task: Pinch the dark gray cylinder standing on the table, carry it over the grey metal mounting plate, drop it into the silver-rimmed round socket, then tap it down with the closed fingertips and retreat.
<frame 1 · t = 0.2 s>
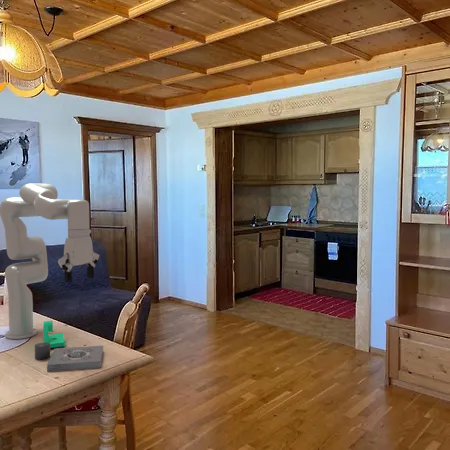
hand: (79, 279, 163), 30 cm above the table, tool pointing down, fingers open, 9 cm apart
mount plate: (76, 361, 164), on the table
camera mount: (54, 345, 182), on the table
dark gray cylinder: (42, 357, 168), on the table
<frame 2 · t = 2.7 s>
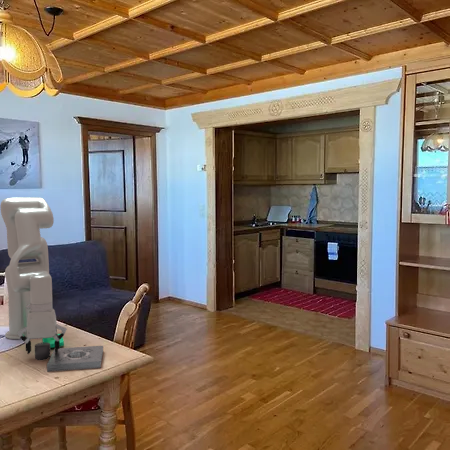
hand: (43, 351, 167), 2 cm above the table, tool pointing down, fingers open, 9 cm apart
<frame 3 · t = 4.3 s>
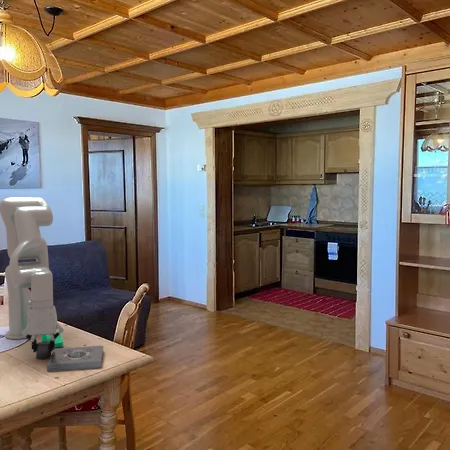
hand: (43, 350, 167), 3 cm above the table, tool pointing down, fingers closed on dark gray cylinder, 5 cm apart
dark gray cylinder: (43, 356, 168), on the table, touching gripper
everything else where it was.
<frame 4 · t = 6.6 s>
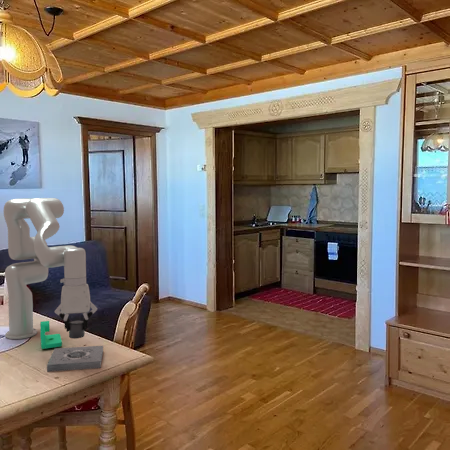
hand: (76, 329, 163), 12 cm above the table, tool pointing down, fingers closed on dark gray cylinder, 5 cm apart
dark gray cylinder: (76, 336, 164), point 9 cm above the table, touching gripper
when the fingers open (3 cm above the table, at t = 8.6 s): dark gray cylinder stays where it is, resting in mount plate.
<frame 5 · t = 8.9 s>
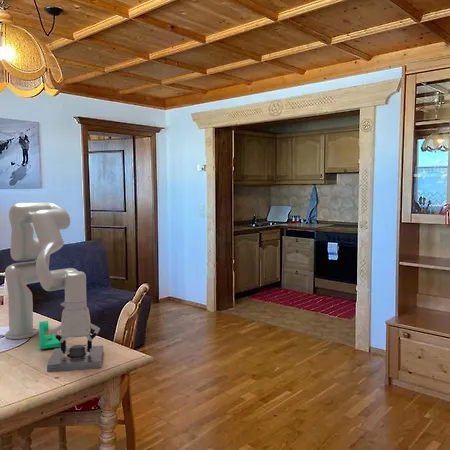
hand: (76, 351, 164), 4 cm above the table, tool pointing down, fingers open, 8 cm apart
dark gray cylinder: (77, 360, 165), resting in mount plate
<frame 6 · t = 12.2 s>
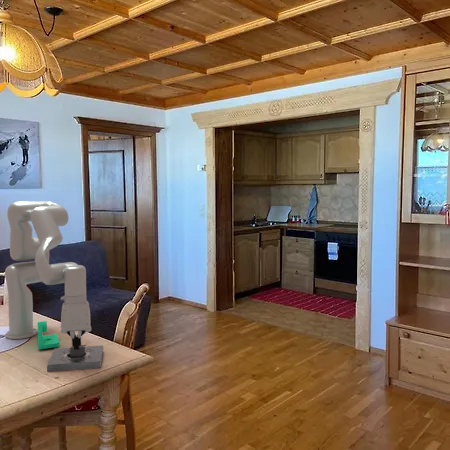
hand: (76, 347, 164), 5 cm above the table, tool pointing down, fingers closed
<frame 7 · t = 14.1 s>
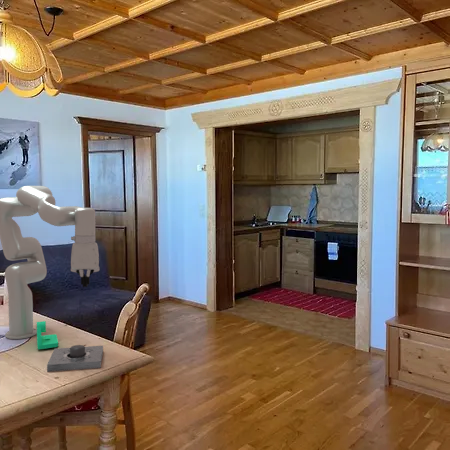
hand: (85, 286, 173), 26 cm above the table, tool pointing down, fingers closed
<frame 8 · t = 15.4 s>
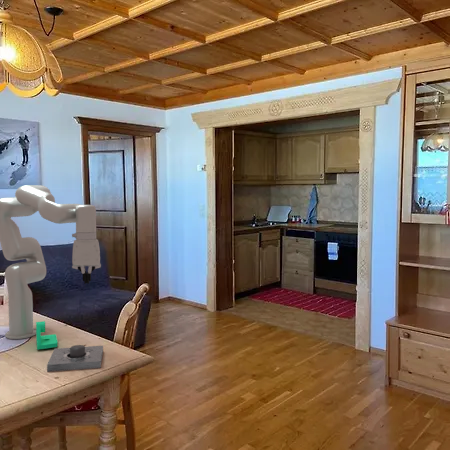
hand: (86, 282, 174), 27 cm above the table, tool pointing down, fingers closed
at the end: dark gray cylinder 0.6 cm off-centre in the mount plate, point 0.0 cm above the mount plate's base; dark gray cylinder tilted 1°; the gripper is holding nothing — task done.
